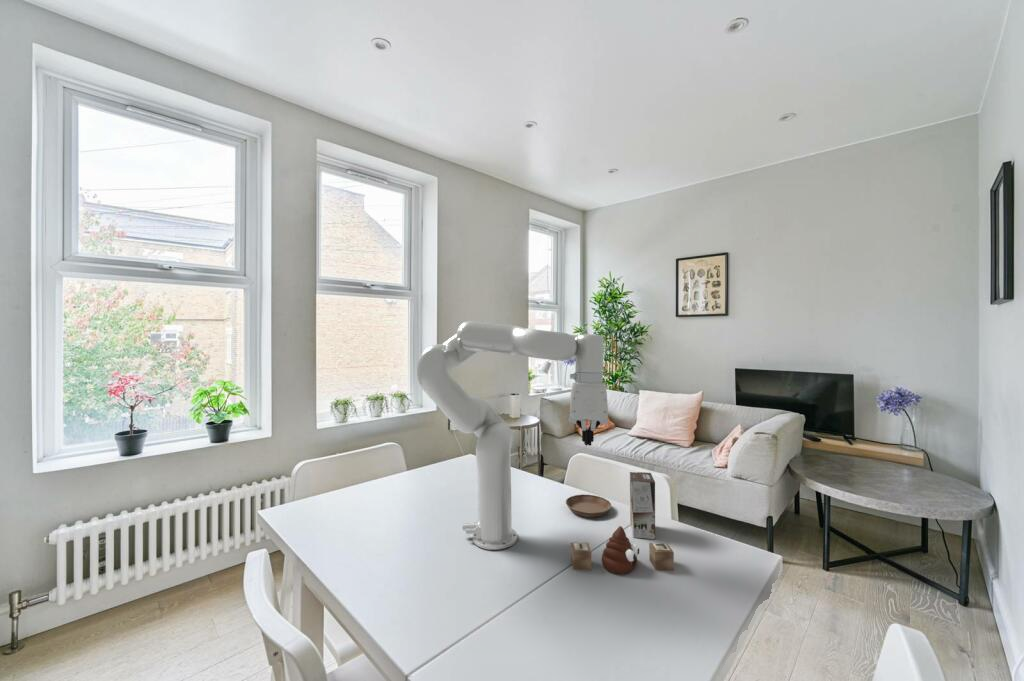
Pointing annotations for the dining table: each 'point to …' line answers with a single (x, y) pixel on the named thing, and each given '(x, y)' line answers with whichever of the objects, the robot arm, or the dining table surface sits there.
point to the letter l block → (661, 556)
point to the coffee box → (642, 505)
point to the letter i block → (581, 556)
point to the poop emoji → (619, 553)
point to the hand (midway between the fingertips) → (587, 444)
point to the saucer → (588, 505)
